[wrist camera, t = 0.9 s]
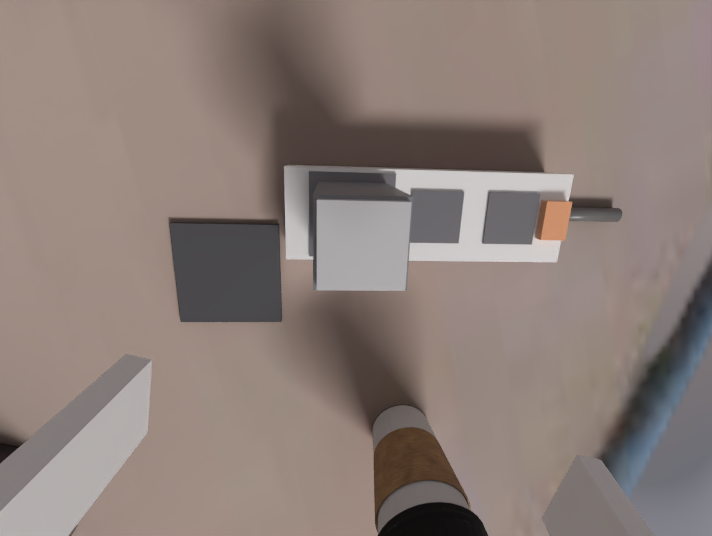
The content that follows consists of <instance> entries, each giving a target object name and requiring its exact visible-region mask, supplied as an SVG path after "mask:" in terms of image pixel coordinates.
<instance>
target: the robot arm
mask: <svg viewBox="0 0 712 536" xmlns="http://www.w3.org/2000/svg"><path fill="white" fill-rule="evenodd" d="M151 368H152V360H150V359H146V358H141V357H137V356H132V355H128V354H126V355H124V356H123V357H122V358H121V359H120V360H119V361H118V362H116V363H115V364H114V365H113V366H112V367H111V368H110V369H108V370H107V371H106V372H105V373H104V374H103V375H101V376H100V377H99V378H98V379H97V380H96V381H95V382H93V383H92V384H91V385H90V386H89V387H88V388H87V389H85V390H84V391H83V392H82V393H81V394H80V395H79V396H77V397H76V398H75V399H74V400H73V401H72V402H70V403H69V404H68V405H67V406H66V407H65V408H64V409H62V410H61V411H60V412H59V413H58V414H57V415H56V416H54V417H53V418H52V419H51V420H50V421H49V422H48V423H46V424H45V425H44V426H43V427H42V428H41V429H39V430H38V431H37V432H36V433H35V434H34V435H33V436H31V437H30V438H29V439H28V440H27V441H26V442H25V443H23V444H22V445H21V446H20V447H19V448H16V447H12V446H8V445H2V444H0V536H71V535H72V534H73V532H74V530H75V529H76V527H77V524H78V523H79V521H80V520H81V519H82V517H83V516H84V515H85V513H86V512H87V511H88V510H89V508H90V507H91V506H92V504H93V503H94V502H95V500H96V499H97V498H98V496H99V495H100V494H101V493H102V491H103V490H104V489H105V487H106V486H107V485H108V483H109V482H110V481H111V480H112V478H113V477H114V476H115V474H116V473H117V472H118V470H119V469H120V468H121V467H122V465H123V464H124V463H125V461H126V460H127V459H128V457H129V456H130V455H131V454H132V452H133V451H134V450H135V448H136V447H137V446H138V444H139V443H140V442H141V440H142V439H143V438H144V437H145V435H146V434H147V433H148V417H149V401H150V385H151ZM542 519H543V521H544V523H545V525H546V528H547V530H548V532H549V534H550V536H655V535H654V534H653V532H652V531H651V530H650V528H649V527H648V525H647V524H646V522H645V521H644V520H643V518H642V517H641V516H640V514H639V513H638V511H637V510H636V509H635V507H634V506H633V504H632V503H631V501H630V500H629V499H628V497H627V496H626V494H625V493H624V492H623V490H622V489H621V487H620V486H619V485H618V483H617V482H616V480H615V479H614V478H613V476H612V475H611V473H610V472H609V471H608V469H607V468H606V466H605V465H604V464H603V462H602V461H601V460H599V459H595V458H590V457H586V456H581V455H577V456H576V458H575V459H574V461H573V463H572V465H571V467H570V468H569V470H568V472H567V474H566V475H565V477H564V479H563V481H562V483H561V484H560V486H559V488H558V490H557V492H556V493H555V495H554V497H553V499H552V500H551V502H550V504H549V506H548V508H547V509H546V511H545V513H544V515H543V517H542Z"/></svg>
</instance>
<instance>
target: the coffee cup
mask: <svg viewBox="0 0 712 536" xmlns="http://www.w3.org/2000/svg"><path fill="white" fill-rule="evenodd" d="M373 449H374V495H375V525H376V529H377V532H378V536H488V534H487V532H486V530H485V528H484V525H483V523H482V522H481V520H480V519H479V518H478V516H477V515H475V514H474V513H473V512H472V511H471V508H470V503H469V501H468V498H467V496H466V494H465V492H464V490H463V488H462V486H461V485H460V483H459V481H458V479H457V477H456V475H455V473H454V471H453V469H452V467H451V465H450V463H449V462H448V460H447V458H446V456H445V454H444V452H443V450H442V448H441V446H440V444H439V442H438V441H437V439H436V437H435V435H434V433H433V431H432V429H431V427H430V425H429V423H428V421H427V419H426V417H425V416H424V414H423V413H422V412H421V411H420V410H418V409H416V408H414V407H411V406H406V405H399V406H394V407H391V408H388V409H387V410H385V411H383V412H382V413H381V414H380V415H379V416H378V417H377V419H376V421H375V423H374V426H373Z"/></svg>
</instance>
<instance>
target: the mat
mask: <svg viewBox="0 0 712 536" xmlns="http://www.w3.org/2000/svg"><path fill="white" fill-rule="evenodd" d="M169 224H170V233H171V241H172V250H173V259H174V268H175V276H176V285H177V294H178V303H179V311H180V320H181V322H281V321H282V307H281V273H280V238H279V224H232V223H176V222H171V223H169Z"/></svg>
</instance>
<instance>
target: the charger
mask: <svg viewBox="0 0 712 536" xmlns="http://www.w3.org/2000/svg"><path fill="white" fill-rule="evenodd" d="M412 209H413V196H411V195H409V194H407V193H405V192H403V191H401V190H399V189H397V188H395V187H393V186H391V185H389V184H387V183H364V182H326V181H318V184H317V186H316V188H315V191H314V193H313V290H349V291H405V290H407V276H408V263H409V249H410V236H411V222H412Z"/></svg>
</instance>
